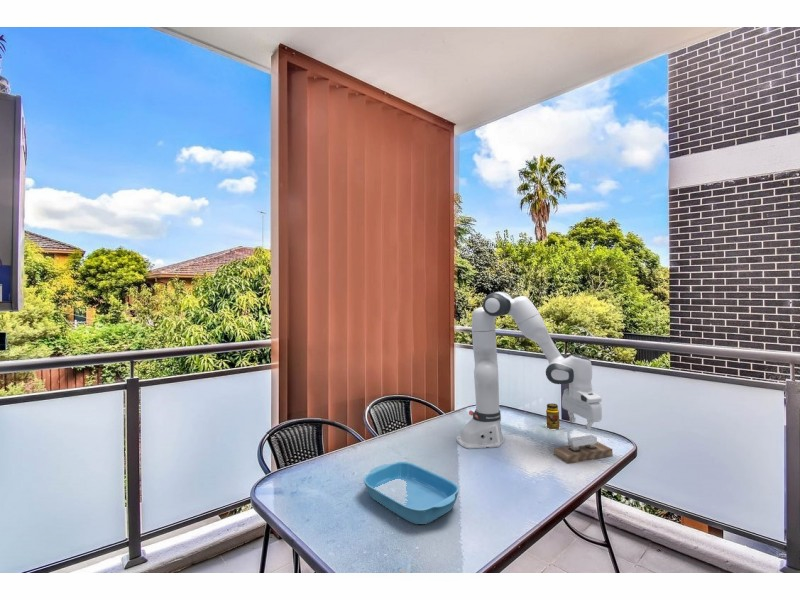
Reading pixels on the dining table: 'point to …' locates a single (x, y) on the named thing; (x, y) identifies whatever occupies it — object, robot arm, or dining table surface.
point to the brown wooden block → (582, 453)
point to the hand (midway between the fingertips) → (580, 425)
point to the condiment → (552, 416)
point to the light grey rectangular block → (582, 442)
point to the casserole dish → (414, 491)
